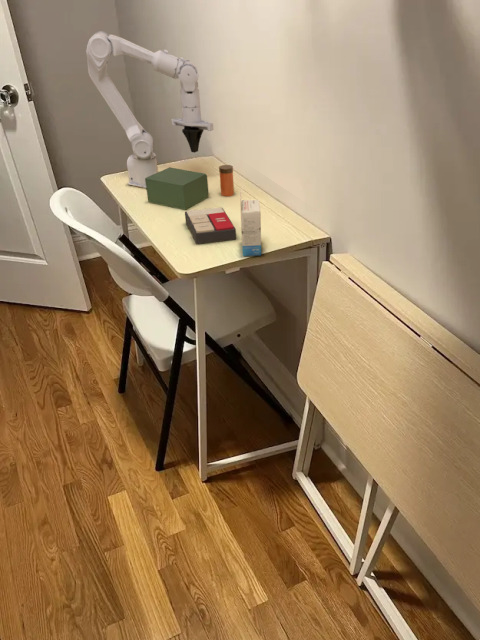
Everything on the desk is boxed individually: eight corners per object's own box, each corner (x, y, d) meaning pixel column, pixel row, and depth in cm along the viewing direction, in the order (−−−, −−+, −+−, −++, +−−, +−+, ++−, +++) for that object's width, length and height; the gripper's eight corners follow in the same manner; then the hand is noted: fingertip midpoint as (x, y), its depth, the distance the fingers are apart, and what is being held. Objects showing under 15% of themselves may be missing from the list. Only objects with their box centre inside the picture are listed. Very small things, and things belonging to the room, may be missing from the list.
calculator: (195, 231, 148) (184, 208, 159) (196, 246, 151) (185, 223, 161) (236, 226, 151) (222, 204, 161) (236, 241, 153) (223, 219, 164)
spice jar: (217, 195, 181) (216, 167, 176) (225, 191, 184) (223, 164, 179) (229, 197, 179) (228, 169, 174) (236, 193, 182) (235, 166, 177)
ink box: (261, 256, 145) (260, 199, 136) (242, 256, 144) (240, 199, 135) (260, 242, 152) (259, 187, 143) (241, 243, 151) (239, 187, 142)
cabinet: (172, 190, 184) (169, 167, 179) (208, 197, 179) (206, 173, 174) (148, 202, 175) (144, 178, 170) (185, 210, 170) (183, 185, 166)
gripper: (217, 106, 177) (220, 151, 185) (179, 101, 182) (183, 145, 190) (204, 110, 172) (208, 157, 180) (165, 105, 177) (170, 150, 185)
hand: (194, 151), depth 185 cm, fingers closed
